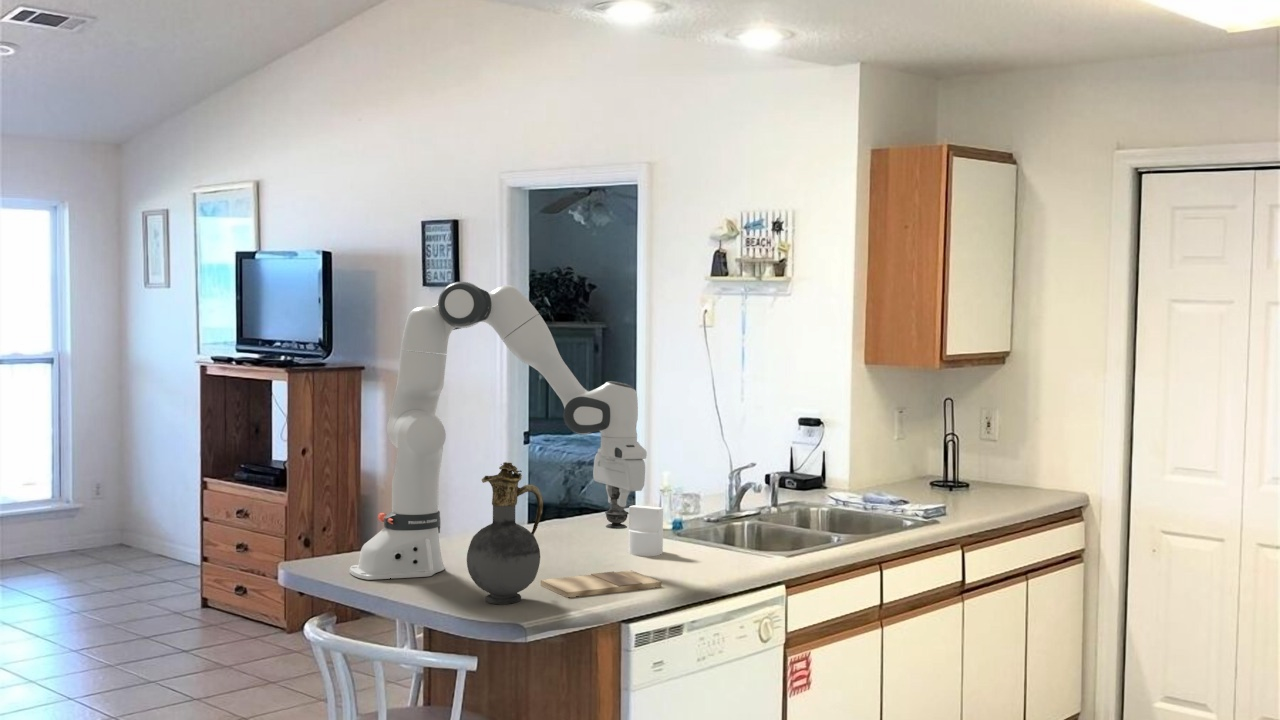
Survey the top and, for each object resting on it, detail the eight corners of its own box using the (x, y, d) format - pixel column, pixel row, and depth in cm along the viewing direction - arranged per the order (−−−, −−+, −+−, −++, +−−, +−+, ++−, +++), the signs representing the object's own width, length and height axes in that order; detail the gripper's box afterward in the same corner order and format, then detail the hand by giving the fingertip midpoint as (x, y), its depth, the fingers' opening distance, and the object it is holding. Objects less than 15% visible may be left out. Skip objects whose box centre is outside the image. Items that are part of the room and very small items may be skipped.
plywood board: (567, 597, 273) (567, 591, 273) (540, 585, 285) (540, 579, 285) (661, 587, 285) (661, 580, 285) (631, 575, 297) (631, 569, 297)
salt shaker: (631, 526, 305) (632, 477, 304) (624, 529, 299) (626, 480, 299) (608, 524, 306) (609, 475, 306) (601, 527, 301) (602, 478, 300)
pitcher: (459, 602, 268) (460, 464, 267) (524, 588, 282) (525, 456, 281) (492, 610, 261) (493, 468, 259) (558, 596, 275) (559, 461, 274)
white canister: (668, 551, 328) (668, 506, 327) (654, 557, 320) (654, 511, 319) (637, 548, 332) (637, 503, 331) (622, 554, 323) (623, 508, 323)
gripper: (587, 444, 310) (586, 499, 310) (627, 453, 292) (625, 511, 292) (610, 443, 313) (608, 498, 313) (650, 452, 295) (648, 510, 295)
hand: (616, 504), depth 303 cm, fingers closed on salt shaker, 3 cm apart
